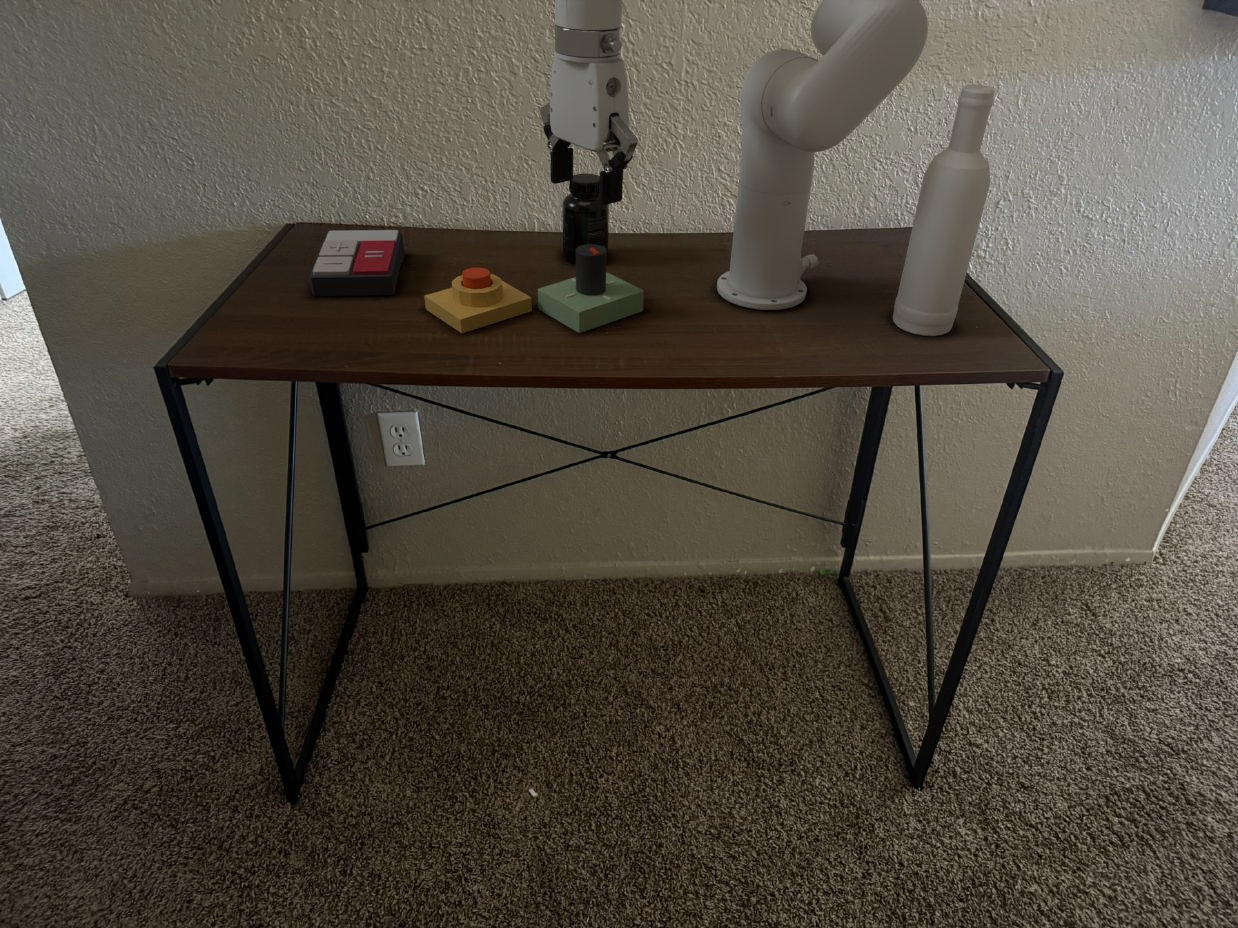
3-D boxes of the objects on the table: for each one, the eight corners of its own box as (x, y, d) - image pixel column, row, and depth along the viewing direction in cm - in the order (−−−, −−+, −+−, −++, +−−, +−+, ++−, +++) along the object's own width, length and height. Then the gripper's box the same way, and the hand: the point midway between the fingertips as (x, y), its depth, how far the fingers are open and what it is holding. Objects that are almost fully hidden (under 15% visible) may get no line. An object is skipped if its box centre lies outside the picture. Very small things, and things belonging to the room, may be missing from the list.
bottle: (955, 340, 117) (1020, 98, 100) (893, 333, 119) (946, 93, 101) (949, 314, 124) (1009, 82, 107) (890, 308, 125) (940, 77, 108)
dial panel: (601, 289, 128) (601, 268, 126) (643, 311, 122) (644, 289, 120) (538, 309, 122) (537, 287, 120) (579, 333, 116) (579, 311, 114)
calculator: (307, 272, 121) (325, 226, 132) (313, 301, 123) (330, 253, 135) (391, 271, 122) (401, 225, 134) (394, 299, 124) (405, 253, 136)
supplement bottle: (609, 250, 140) (611, 172, 133) (605, 267, 134) (607, 187, 127) (566, 247, 140) (565, 169, 133) (559, 264, 135) (559, 184, 128)
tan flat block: (494, 289, 127) (492, 262, 124) (531, 311, 121) (531, 283, 119) (425, 309, 121) (422, 281, 119) (461, 333, 115) (459, 304, 113)
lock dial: (571, 285, 121) (570, 244, 118) (598, 281, 122) (598, 240, 119) (583, 297, 118) (583, 255, 115) (610, 292, 119) (611, 251, 116)
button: (481, 277, 121) (480, 265, 120) (496, 286, 119) (495, 274, 118) (458, 284, 119) (457, 271, 118) (472, 293, 117) (472, 280, 116)
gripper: (663, 53, 100) (654, 205, 109) (567, 28, 110) (567, 169, 120) (611, 60, 96) (606, 217, 105) (517, 33, 106) (520, 179, 116)
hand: (585, 192), depth 113 cm, fingers open, 9 cm apart
